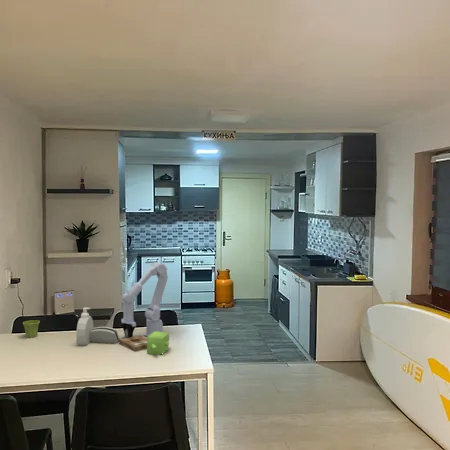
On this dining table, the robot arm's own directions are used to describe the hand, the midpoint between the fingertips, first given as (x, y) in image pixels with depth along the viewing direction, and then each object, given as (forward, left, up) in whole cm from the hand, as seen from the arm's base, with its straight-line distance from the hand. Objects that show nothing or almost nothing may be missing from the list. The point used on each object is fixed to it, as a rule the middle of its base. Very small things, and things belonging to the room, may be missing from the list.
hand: (128, 336), depth 257 cm
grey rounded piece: (+13, -4, -2) cm, 14 cm away
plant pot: (+42, -43, -2) cm, 60 cm away
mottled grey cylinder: (0, 0, -2) cm, 2 cm away
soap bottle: (+22, -10, -2) cm, 24 cm away
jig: (+2, +14, -2) cm, 14 cm away
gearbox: (-1, +32, -2) cm, 32 cm away
